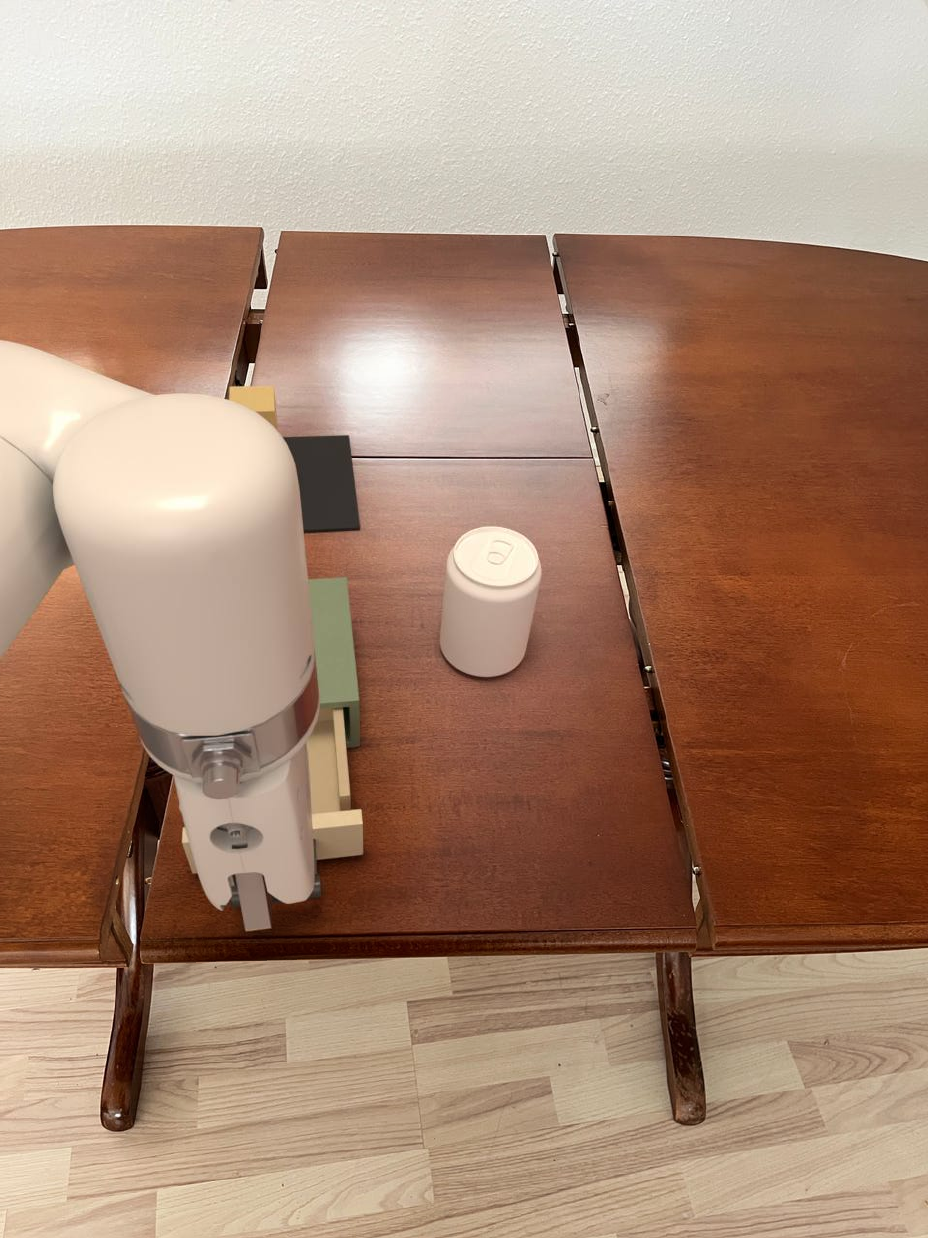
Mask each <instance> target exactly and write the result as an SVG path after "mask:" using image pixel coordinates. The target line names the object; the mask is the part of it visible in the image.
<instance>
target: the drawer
mask: <svg viewBox="0 0 928 1238" xmlns="http://www.w3.org/2000/svg"><path fill="white" fill-rule="evenodd" d="M307 747H308V757H309V771H310V788H311V806H312V826H313V848H314V889H313V891H312V893H311V895H310V896H309V897H308V898H307V899H306V900H312V899H321V898H322V897H323V896H322V893H323V892H322V880H321V879H322V878H321V877H322V876H321V874H318V860H327V859H337V858H345V857H355V856H363V855H364V822H363V810H362V809H361V808H359V809H352V806H351V805H352V804H351V802H352V801H351V787H350V776H349V763H348V762H349V761H348V753H347V752H348V751H347V748H346V738H345V727H344V715H343V707H339V708H327V709H319V714H318V720H317V723H316V725H315V727H314V730H313V732H312V734H311V735H310V737H309V738H308V740H307ZM181 844H182V847H183V850H184V852H185V853H184V854H185V856H186V859H187V861H188V864H189V866H190V867H189V868H190V870H191V873H192V875H194V874H198V873H197V869H196V866H195V863H194V859H193V856H192V852H191V848H190V845H189V841H188V837H187V833H186V829H185V826H184V827H182V833H181ZM231 888H232V897H231V898H230V904H231V905H230V906H231V909H237V908H241V905H240V899H239V894H238V889H237V883H235V886H231ZM279 903H283V902H282V901H280V900H279V901H276V902H272V904H279Z"/></svg>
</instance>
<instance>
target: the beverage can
mask: <svg viewBox="0 0 928 1238" xmlns="http://www.w3.org/2000/svg"><path fill="white" fill-rule="evenodd" d="M542 573H543V571H542V563H541V561H540V558H539V554H538V551H537V549H536V547H535V545H534V544H533V543H532V542H531V540H530V539H528V538H527V536H525V535H523V534H521V533H520V532H518V531H516V530H513V529H510V528H508V527H507V528H506V527H503V526H492V525H491V526H481V527H477V528H474V529H471V530H469V531H467V532H465V533H464V534H462V535H461V536H460V537H459V539H458V540H457V541H456V543H455V544H454V546H453V547H452V549H451V550H450V551H449V554H448V556H447V559H446V566H445V576H444V586H443V597H442V598H443V599H442V608H441V609H442V610H441V619H440V631H439V632H440V633H439V647H440V650H441V653H442V654H443V656H444V658H445V659H446V660H447V661H448V663H449V664H450V665H451V666H453V667H454V668H455V669H457V670H459V671H460V672H462V673H465V674H467V675H471V676H473V677H480V678H492V677H493V678H494V677H499V676H502V675H505V674H507V673H509V672H511V671H513V670H514V669H515V668H517V667H518V666H519V665H520V663H521V662H522V661H523V659H524V657H525V655H526V650H527V646H528V644H529V643H528V642H529V637H530V633H531V628H532V623H533V618H534V614H535V609H536V604H537V599H538V595H539V589H540V586H541V580H542V575H543V574H542Z"/></svg>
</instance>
